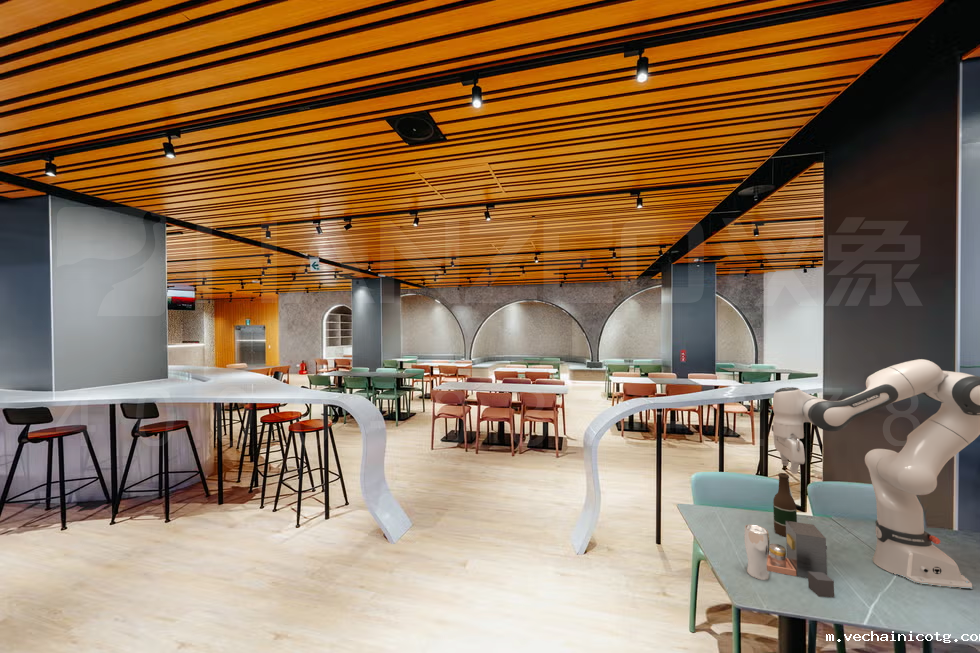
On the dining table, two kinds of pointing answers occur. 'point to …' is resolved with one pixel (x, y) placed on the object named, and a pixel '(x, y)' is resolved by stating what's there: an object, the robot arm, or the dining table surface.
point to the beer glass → (757, 551)
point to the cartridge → (777, 555)
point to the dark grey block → (806, 548)
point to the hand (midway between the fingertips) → (789, 469)
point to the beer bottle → (783, 506)
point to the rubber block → (821, 584)
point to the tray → (788, 570)
